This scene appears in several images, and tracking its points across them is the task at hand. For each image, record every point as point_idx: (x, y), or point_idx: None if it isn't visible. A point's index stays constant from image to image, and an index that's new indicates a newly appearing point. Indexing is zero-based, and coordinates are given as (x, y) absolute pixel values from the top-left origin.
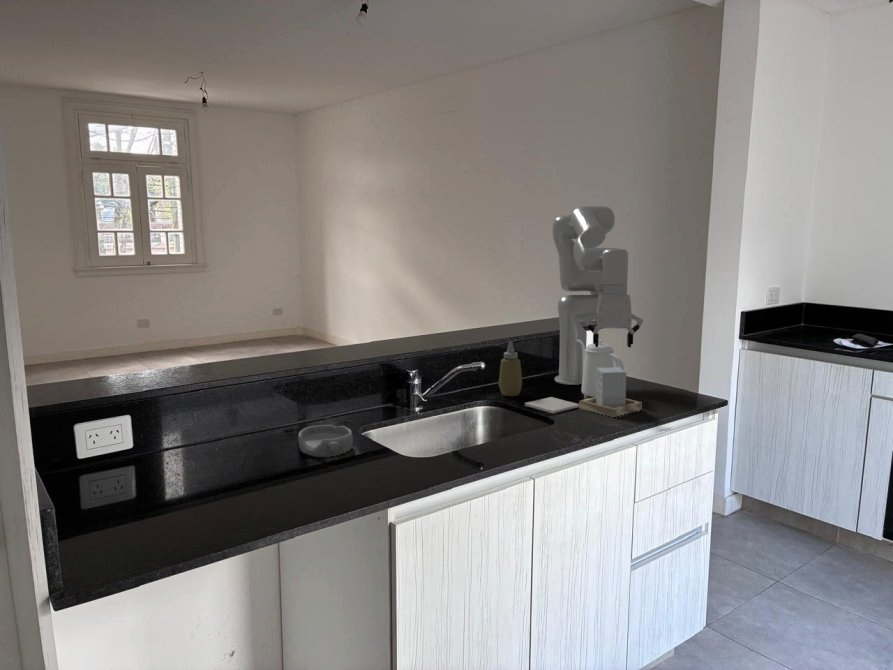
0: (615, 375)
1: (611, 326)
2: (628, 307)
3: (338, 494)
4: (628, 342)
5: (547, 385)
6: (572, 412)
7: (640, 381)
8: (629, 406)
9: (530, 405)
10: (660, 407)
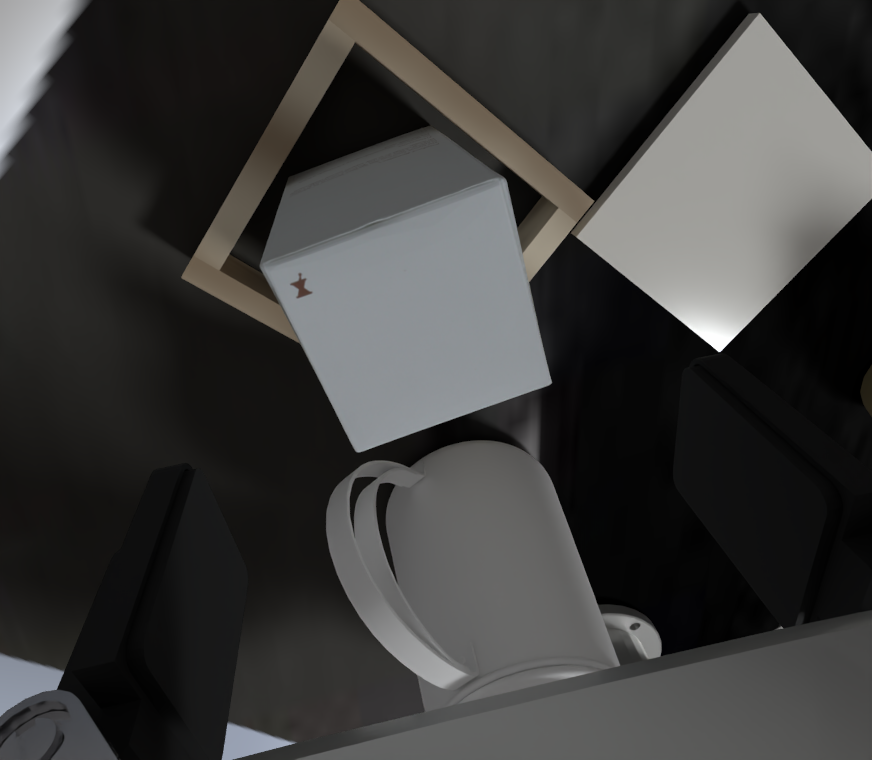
0: (368, 214)
1: (680, 705)
2: None
3: None
4: (186, 527)
5: (694, 570)
6: (620, 82)
7: (289, 738)
8: (250, 157)
9: (863, 148)
10: (94, 356)
